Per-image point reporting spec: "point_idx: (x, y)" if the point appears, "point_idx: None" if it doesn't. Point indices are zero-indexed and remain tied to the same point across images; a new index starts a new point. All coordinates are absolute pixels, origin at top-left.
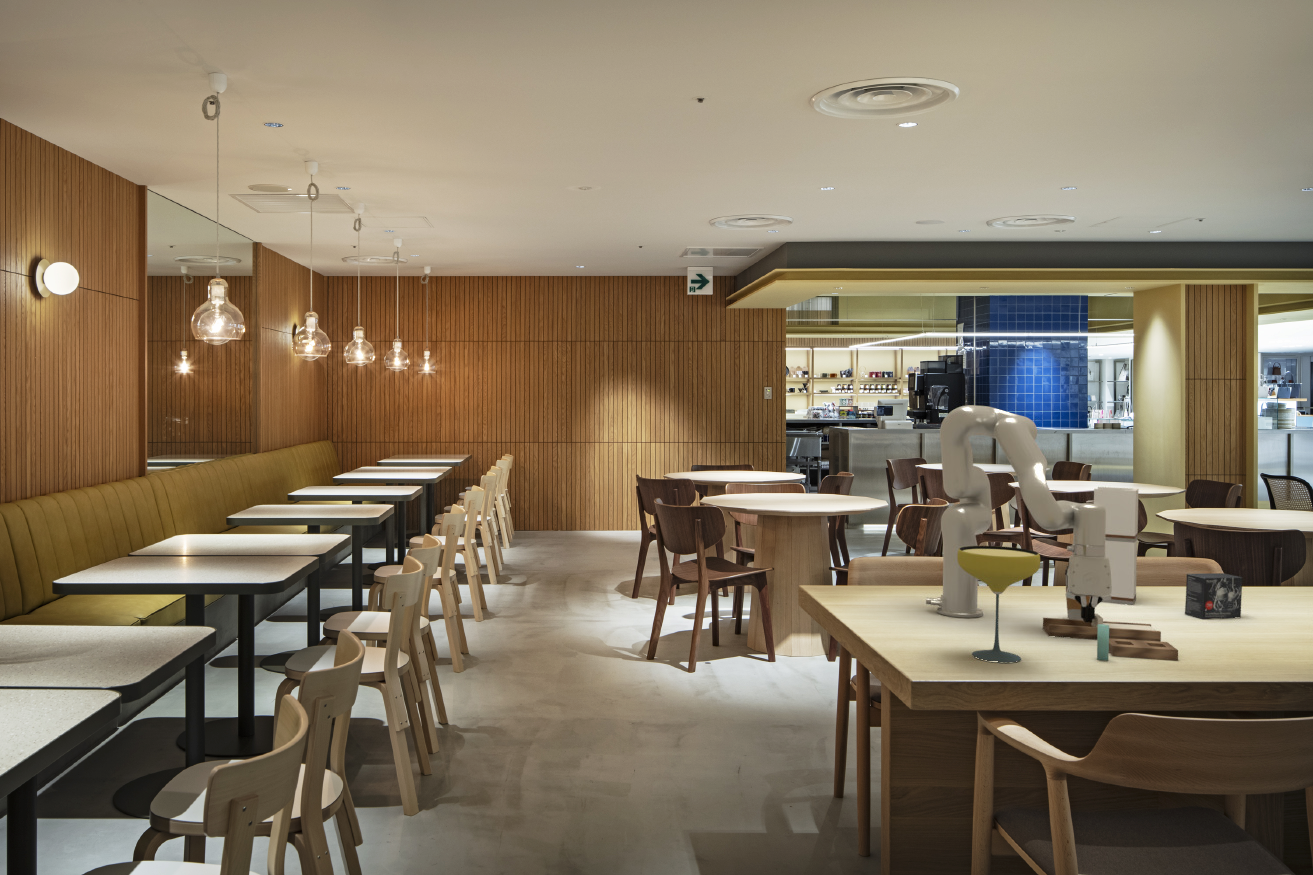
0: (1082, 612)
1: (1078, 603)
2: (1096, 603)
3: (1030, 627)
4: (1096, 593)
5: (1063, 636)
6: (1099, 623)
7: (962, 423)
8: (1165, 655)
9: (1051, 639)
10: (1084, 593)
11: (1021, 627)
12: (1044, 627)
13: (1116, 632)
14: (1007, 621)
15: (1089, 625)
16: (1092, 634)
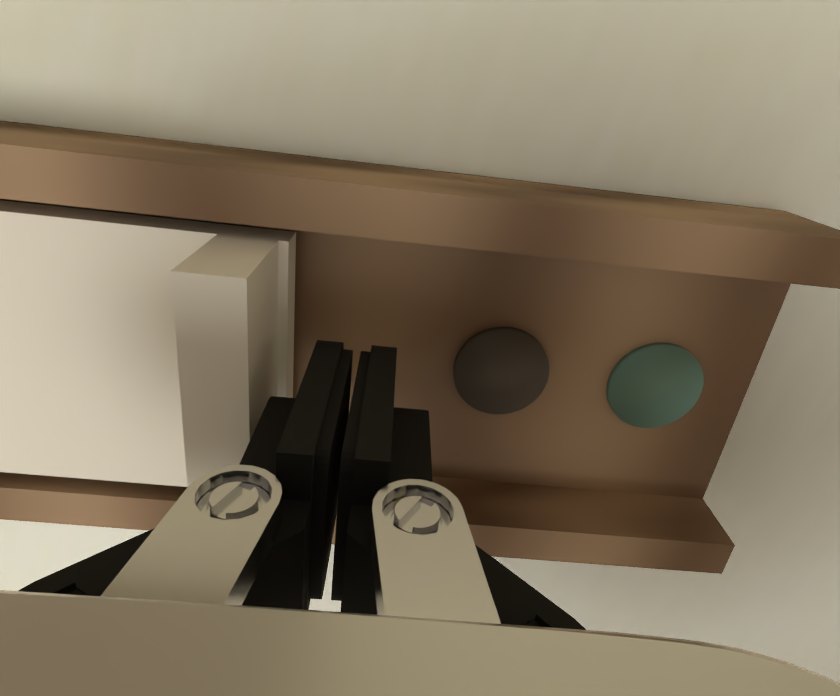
0: (429, 444)
1: None
2: (176, 514)
3: (756, 521)
4: (52, 649)
5: (654, 196)
6: (246, 252)
7: None
8: None
9: (837, 71)
10: (488, 656)
11: (835, 510)
12: (712, 452)
13: (78, 144)
14: (827, 655)
15: None
16: (365, 172)
